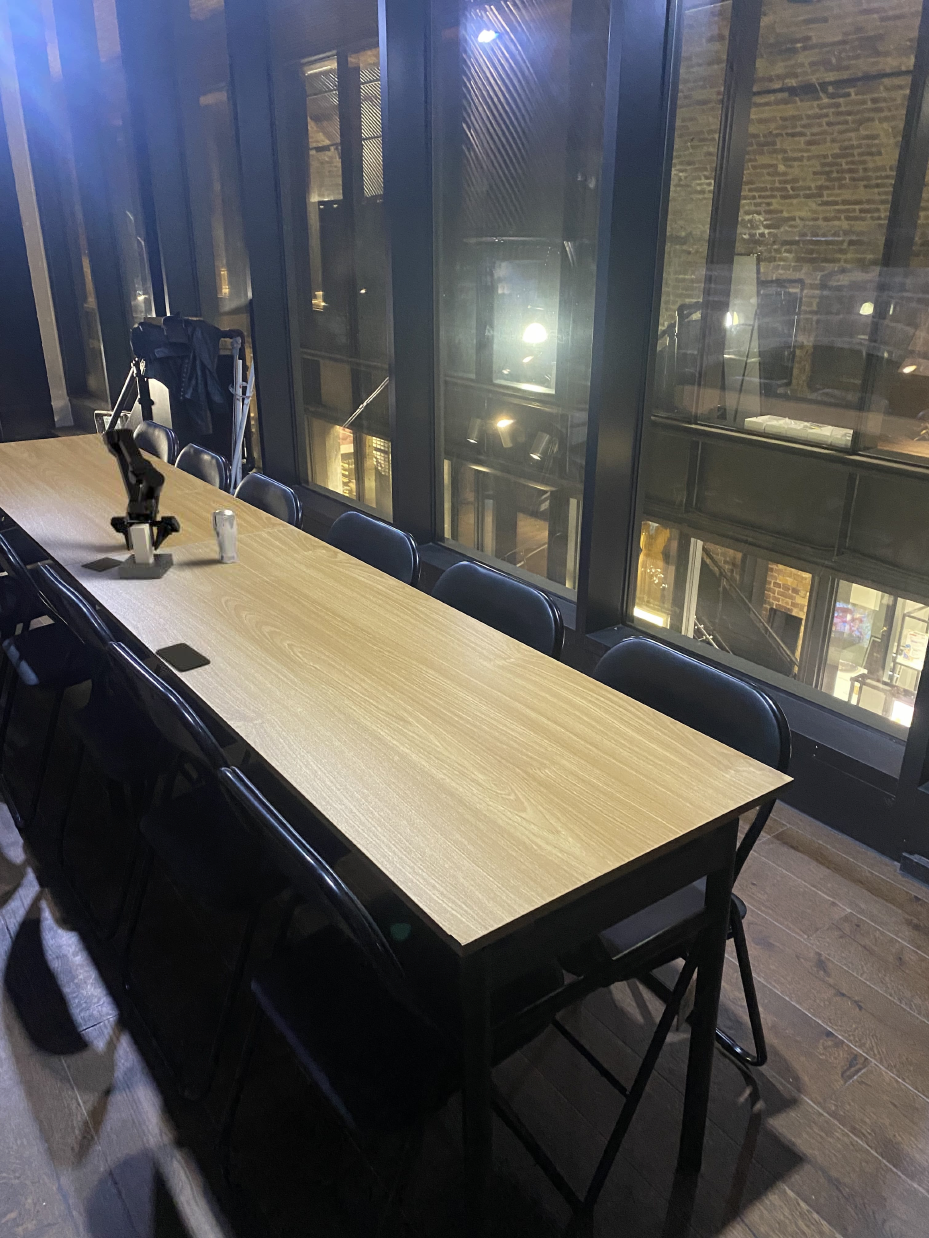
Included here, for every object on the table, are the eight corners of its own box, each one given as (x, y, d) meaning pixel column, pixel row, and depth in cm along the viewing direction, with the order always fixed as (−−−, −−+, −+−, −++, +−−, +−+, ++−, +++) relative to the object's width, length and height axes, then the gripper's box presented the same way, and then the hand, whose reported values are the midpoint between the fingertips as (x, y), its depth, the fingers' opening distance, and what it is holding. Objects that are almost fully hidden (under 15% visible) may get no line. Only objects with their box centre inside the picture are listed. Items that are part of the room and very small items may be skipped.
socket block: (133, 564, 264) (131, 553, 262) (173, 564, 264) (171, 553, 263) (119, 578, 253) (117, 567, 251) (161, 578, 253) (159, 566, 252)
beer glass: (234, 564, 264) (228, 516, 258) (213, 563, 265) (207, 515, 259) (244, 557, 270) (239, 510, 264) (223, 555, 271) (217, 508, 265)
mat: (106, 558, 270) (106, 556, 270) (125, 563, 265) (125, 561, 265) (81, 566, 263) (80, 565, 263) (100, 571, 258) (100, 570, 258)
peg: (142, 569, 260) (134, 524, 255) (155, 569, 260) (148, 523, 255) (137, 573, 256) (130, 528, 251) (151, 573, 257) (144, 527, 251)
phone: (183, 641, 211) (212, 661, 200) (184, 644, 211) (212, 664, 200) (154, 650, 206) (181, 670, 196) (154, 653, 206) (182, 674, 196)
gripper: (106, 489, 253) (99, 537, 247) (171, 489, 253) (165, 537, 247) (120, 508, 263) (113, 555, 257) (183, 508, 263) (177, 554, 257)
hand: (141, 550), depth 254 cm, fingers open, 7 cm apart
